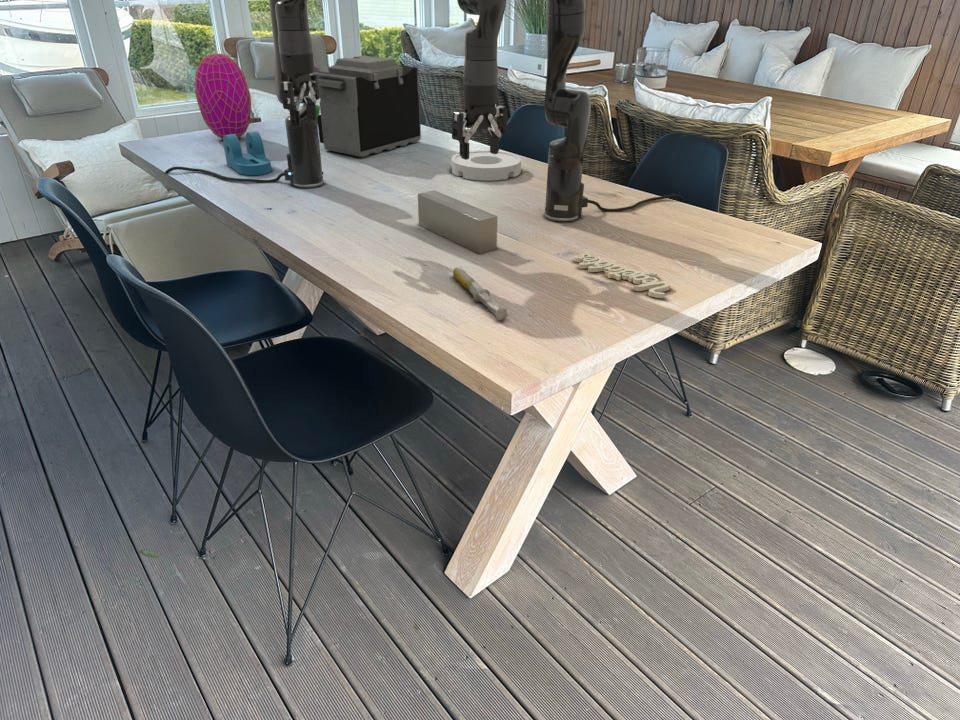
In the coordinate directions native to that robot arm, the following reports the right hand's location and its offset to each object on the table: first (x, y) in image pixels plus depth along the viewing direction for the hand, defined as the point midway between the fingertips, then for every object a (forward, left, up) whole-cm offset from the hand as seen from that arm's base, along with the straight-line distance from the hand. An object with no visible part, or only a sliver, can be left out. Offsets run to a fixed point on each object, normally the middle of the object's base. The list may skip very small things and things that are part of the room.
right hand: (479, 156), depth 159 cm
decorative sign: (-24, +28, -22) cm, 43 cm away
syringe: (+11, +27, -22) cm, 36 cm away
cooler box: (0, -110, -22) cm, 113 cm away
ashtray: (-28, -63, -22) cm, 73 cm away
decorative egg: (+48, -139, -22) cm, 149 cm away
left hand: (+35, -28, +4) cm, 45 cm away
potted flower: (+13, -159, -22) cm, 161 cm away
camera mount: (+45, -93, -22) cm, 105 cm away
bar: (+3, -9, -22) cm, 24 cm away
